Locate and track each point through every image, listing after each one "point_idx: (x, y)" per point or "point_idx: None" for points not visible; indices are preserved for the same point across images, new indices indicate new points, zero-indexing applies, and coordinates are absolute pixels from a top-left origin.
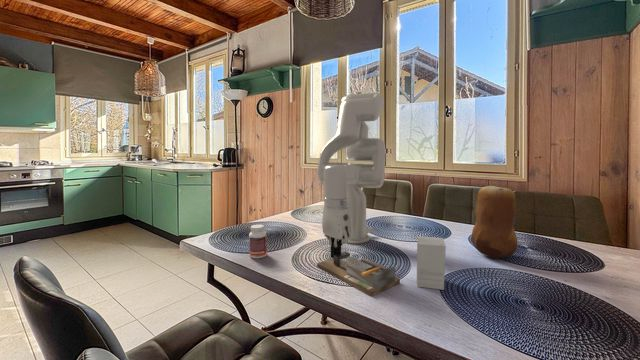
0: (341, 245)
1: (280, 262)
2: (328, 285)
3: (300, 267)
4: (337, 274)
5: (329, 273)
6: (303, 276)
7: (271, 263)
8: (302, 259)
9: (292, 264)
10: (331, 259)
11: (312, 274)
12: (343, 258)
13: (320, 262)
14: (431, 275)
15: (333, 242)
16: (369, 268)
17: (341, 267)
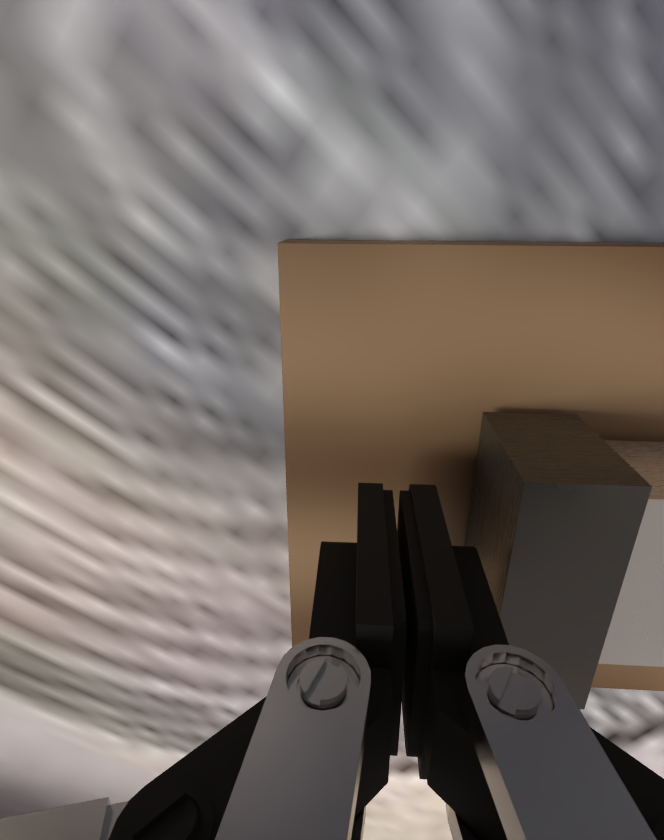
0: (547, 690)
1: (32, 769)
2: (653, 761)
3: (218, 727)
4: (650, 686)
5: None
6: (385, 787)
7: (22, 810)
8: (51, 632)
9: (121, 735)
10: (306, 510)
11: (404, 736)
12: (637, 627)
13: (298, 640)
14: None
15: (359, 800)
16: None
17: None
